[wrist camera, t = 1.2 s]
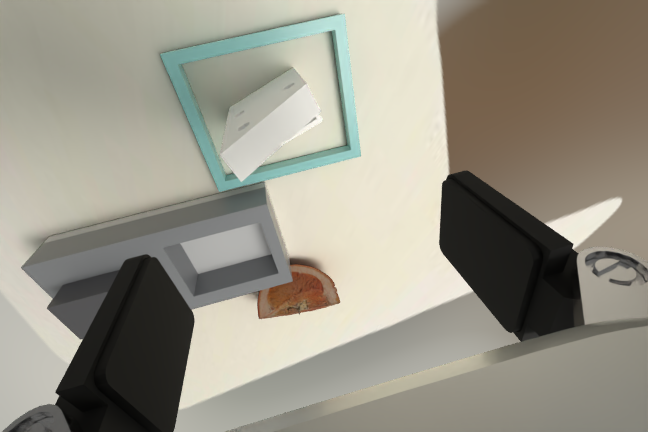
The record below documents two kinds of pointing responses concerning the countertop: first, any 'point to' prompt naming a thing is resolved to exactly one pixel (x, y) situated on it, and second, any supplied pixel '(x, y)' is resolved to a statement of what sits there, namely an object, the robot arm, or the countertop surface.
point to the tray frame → (253, 40)
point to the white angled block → (267, 122)
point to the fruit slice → (298, 294)
